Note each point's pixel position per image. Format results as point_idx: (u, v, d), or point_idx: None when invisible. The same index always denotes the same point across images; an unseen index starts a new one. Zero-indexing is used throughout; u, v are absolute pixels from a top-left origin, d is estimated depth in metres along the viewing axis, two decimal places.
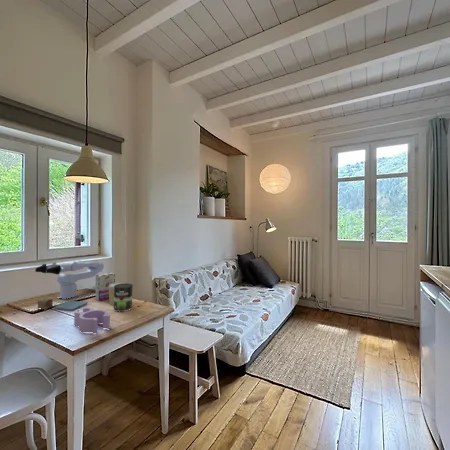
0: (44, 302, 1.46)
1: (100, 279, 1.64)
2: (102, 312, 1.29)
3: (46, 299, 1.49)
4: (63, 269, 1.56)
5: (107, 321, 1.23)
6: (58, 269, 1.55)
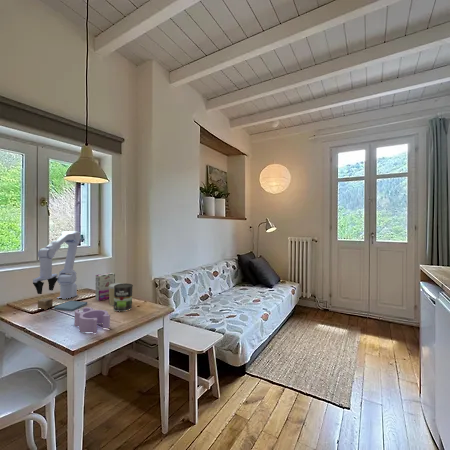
0: (44, 302, 1.46)
1: (100, 279, 1.64)
2: (102, 312, 1.29)
3: (46, 299, 1.49)
4: None
5: (107, 321, 1.23)
6: None
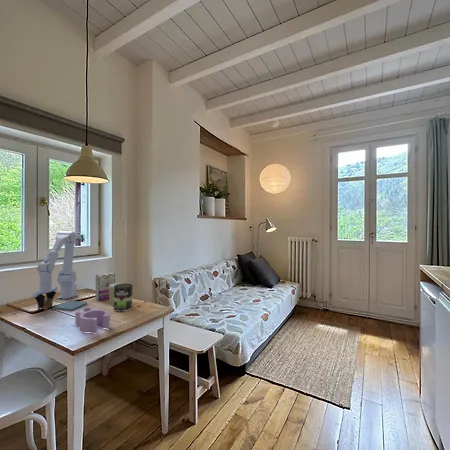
0: (44, 302, 1.46)
1: (100, 279, 1.64)
2: (103, 312, 1.29)
3: (46, 299, 1.49)
4: None
5: (107, 321, 1.23)
6: None
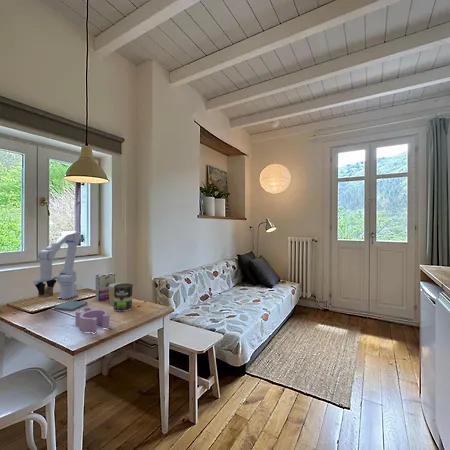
0: (44, 290, 1.45)
1: (100, 279, 1.64)
2: (102, 312, 1.29)
3: (46, 287, 1.49)
4: None
5: (107, 321, 1.23)
6: None
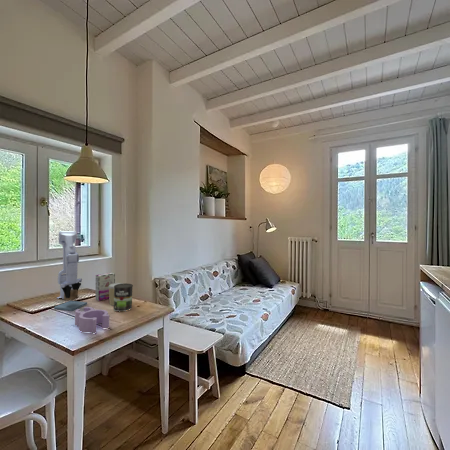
0: (70, 293, 1.49)
1: (100, 279, 1.64)
2: (102, 312, 1.29)
3: (72, 290, 1.52)
4: None
5: (106, 321, 1.23)
6: None
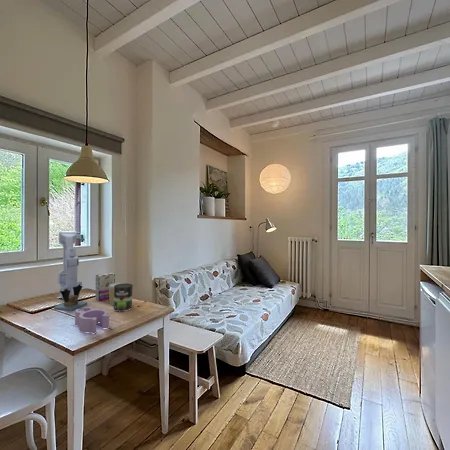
0: (70, 298, 1.49)
1: (100, 279, 1.64)
2: (102, 312, 1.29)
3: (72, 296, 1.53)
4: None
5: (106, 321, 1.23)
6: None
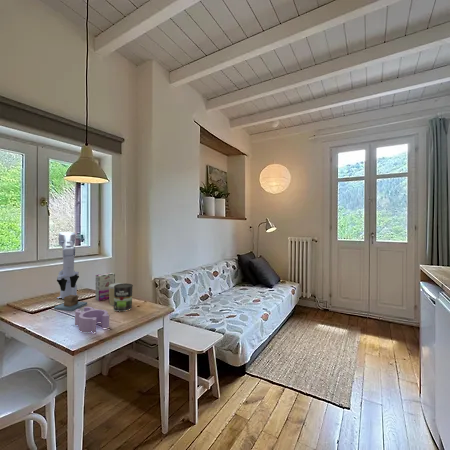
0: (70, 298, 1.49)
1: (100, 279, 1.64)
2: (102, 312, 1.29)
3: (72, 296, 1.53)
4: None
5: (106, 321, 1.23)
6: None
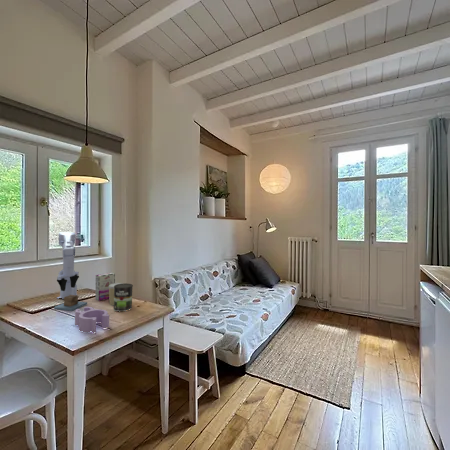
0: (70, 298, 1.49)
1: (100, 279, 1.64)
2: (102, 312, 1.29)
3: (72, 296, 1.53)
4: None
5: (106, 321, 1.23)
6: None
